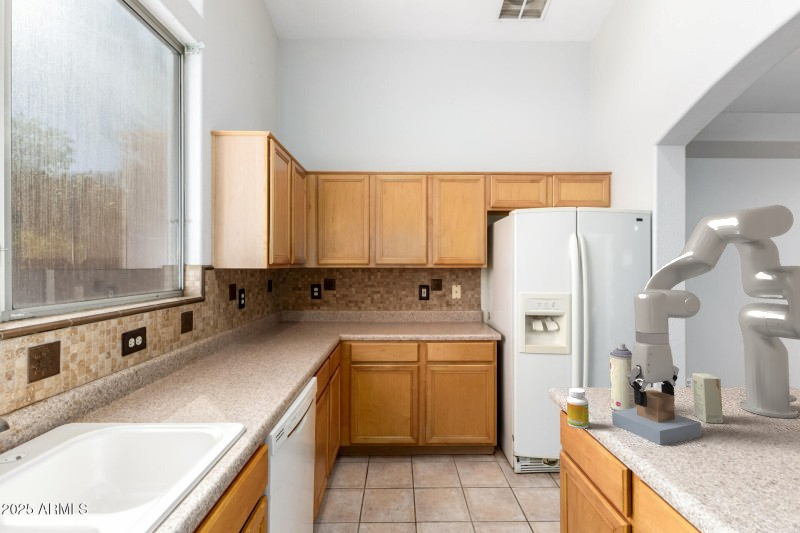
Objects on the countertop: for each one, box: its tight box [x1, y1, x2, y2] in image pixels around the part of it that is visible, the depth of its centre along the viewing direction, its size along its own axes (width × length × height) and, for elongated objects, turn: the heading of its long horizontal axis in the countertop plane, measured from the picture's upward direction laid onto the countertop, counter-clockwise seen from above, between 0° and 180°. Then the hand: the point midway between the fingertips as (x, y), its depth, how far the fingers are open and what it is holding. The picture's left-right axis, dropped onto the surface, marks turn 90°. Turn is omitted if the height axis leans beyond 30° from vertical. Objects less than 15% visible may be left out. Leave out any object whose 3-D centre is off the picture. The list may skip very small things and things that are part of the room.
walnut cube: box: [637, 389, 676, 423], centre depth 104 cm, size 6×6×6 cm
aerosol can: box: [609, 343, 637, 412], centre depth 119 cm, size 7×7×20 cm
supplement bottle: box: [566, 387, 590, 430], centre depth 108 cm, size 5×5×10 cm
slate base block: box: [611, 408, 702, 446], centre depth 104 cm, size 14×14×4 cm
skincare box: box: [691, 372, 724, 424], centre depth 110 cm, size 6×4×12 cm
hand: (654, 402), depth 104 cm, fingers open, 9 cm apart
